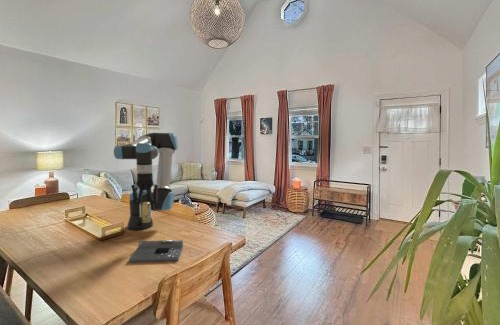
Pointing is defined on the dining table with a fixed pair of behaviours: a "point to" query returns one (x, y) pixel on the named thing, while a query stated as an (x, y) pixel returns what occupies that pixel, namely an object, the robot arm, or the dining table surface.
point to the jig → (157, 251)
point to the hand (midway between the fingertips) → (146, 216)
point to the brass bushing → (145, 212)
